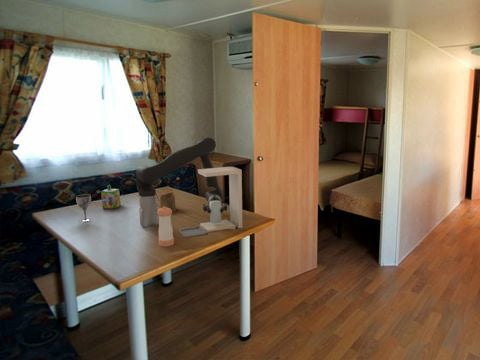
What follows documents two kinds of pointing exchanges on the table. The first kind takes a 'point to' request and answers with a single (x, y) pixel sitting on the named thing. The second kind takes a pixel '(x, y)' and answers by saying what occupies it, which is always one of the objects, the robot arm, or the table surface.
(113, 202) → the decorated lidded jar
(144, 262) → the table surface
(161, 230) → the pepper shaker
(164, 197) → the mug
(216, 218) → the pale grey cylinder
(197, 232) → the tray
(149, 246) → the table surface
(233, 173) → the white c-shaped stand
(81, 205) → the wine glass
